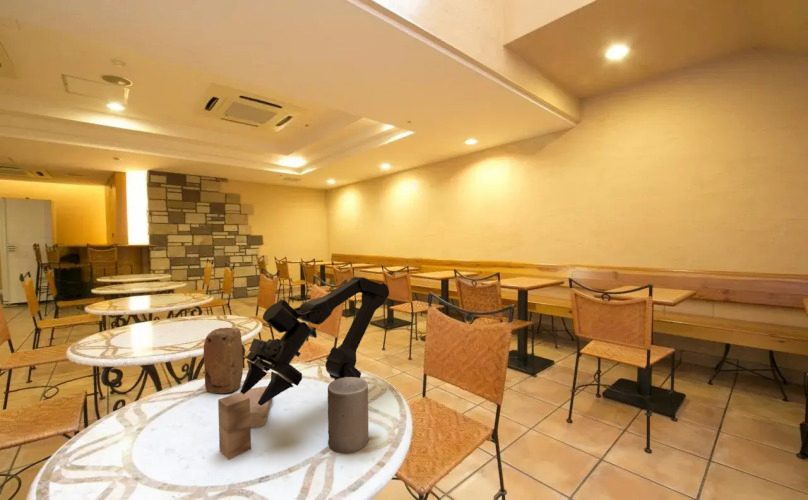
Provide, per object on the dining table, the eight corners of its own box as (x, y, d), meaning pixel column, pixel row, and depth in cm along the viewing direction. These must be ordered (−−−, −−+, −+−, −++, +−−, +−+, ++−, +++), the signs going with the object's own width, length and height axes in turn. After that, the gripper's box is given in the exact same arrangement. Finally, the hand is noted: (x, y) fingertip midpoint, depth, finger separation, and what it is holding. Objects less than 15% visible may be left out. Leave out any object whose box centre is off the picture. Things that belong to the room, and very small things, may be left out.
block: (245, 385, 114) (244, 326, 114) (232, 395, 107) (230, 332, 107) (215, 384, 115) (214, 326, 115) (200, 394, 108) (198, 332, 108)
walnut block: (241, 441, 81) (240, 392, 81) (251, 449, 78) (249, 397, 78) (219, 450, 78) (218, 399, 77) (228, 459, 74) (227, 406, 74)
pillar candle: (319, 444, 79) (318, 382, 79) (348, 425, 87) (347, 368, 87) (349, 459, 74) (348, 392, 74) (377, 437, 82) (376, 376, 82)
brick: (266, 427, 88) (265, 409, 88) (231, 432, 86) (230, 414, 86) (273, 399, 104) (272, 384, 104) (243, 403, 102) (243, 388, 102)
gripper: (252, 320, 91) (209, 373, 82) (290, 330, 78) (242, 394, 70) (280, 342, 97) (242, 394, 88) (319, 355, 84) (278, 416, 76)
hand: (250, 398), depth 81 cm, fingers open, 9 cm apart
